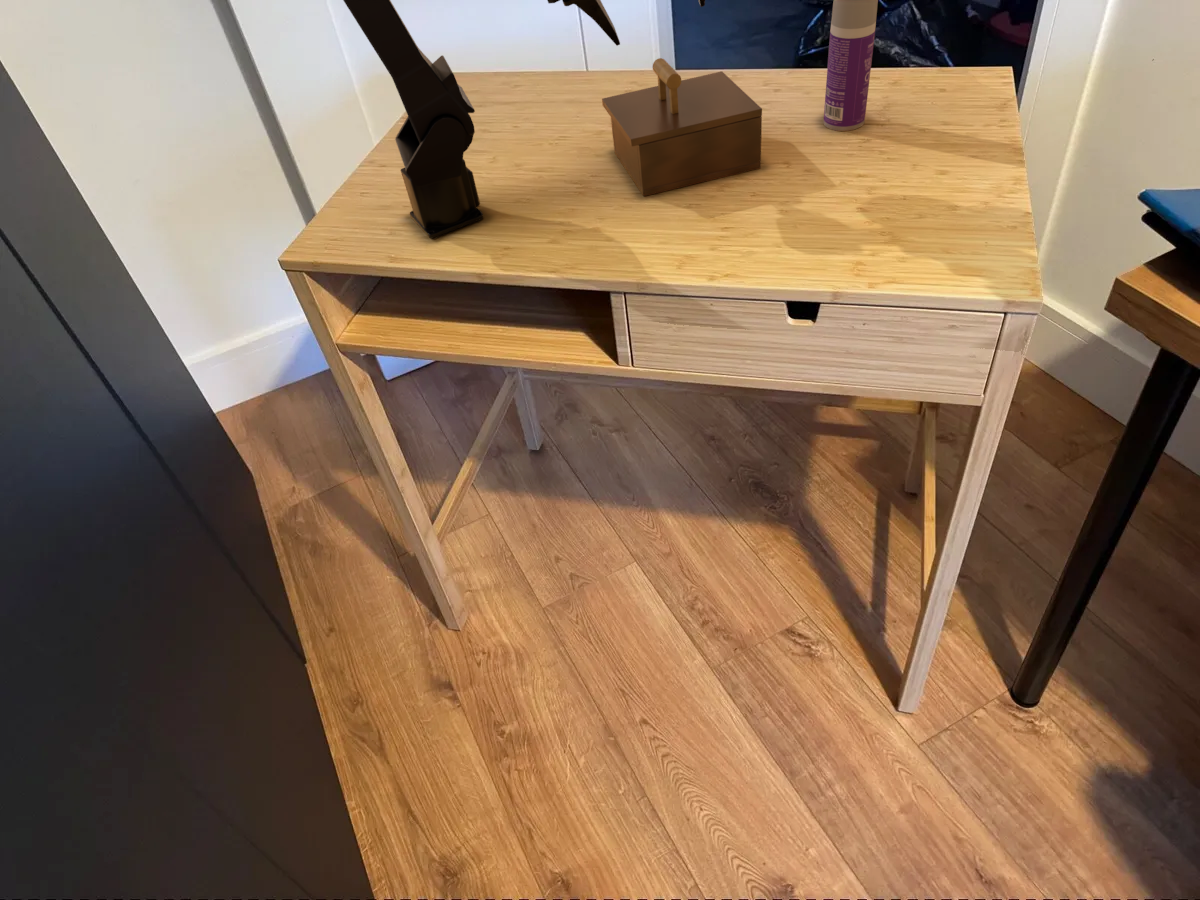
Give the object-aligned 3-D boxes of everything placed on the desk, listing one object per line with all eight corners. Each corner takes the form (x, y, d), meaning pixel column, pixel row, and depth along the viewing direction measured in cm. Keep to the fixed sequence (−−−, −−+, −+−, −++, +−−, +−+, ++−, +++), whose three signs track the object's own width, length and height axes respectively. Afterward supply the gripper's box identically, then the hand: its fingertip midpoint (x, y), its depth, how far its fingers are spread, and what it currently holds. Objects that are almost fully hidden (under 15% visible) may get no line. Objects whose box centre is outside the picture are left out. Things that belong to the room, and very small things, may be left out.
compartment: (643, 196, 89) (639, 145, 85) (614, 153, 97) (609, 104, 93) (760, 168, 90) (762, 116, 86) (722, 127, 98) (722, 78, 94)
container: (868, 128, 94) (885, -15, 83) (826, 133, 94) (838, -10, 84) (860, 111, 97) (875, -29, 87) (819, 115, 98) (830, -24, 87)
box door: (631, 146, 85) (627, 98, 81) (602, 105, 93) (597, 59, 89) (762, 116, 86) (763, 67, 83) (722, 78, 94) (721, 32, 91)
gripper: (687, -215, 76) (730, -44, 87) (507, -121, 80) (570, 31, 91) (709, -188, 69) (753, -5, 80) (510, -85, 73) (578, 75, 84)
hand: (659, 24), depth 84 cm, fingers open, 9 cm apart
